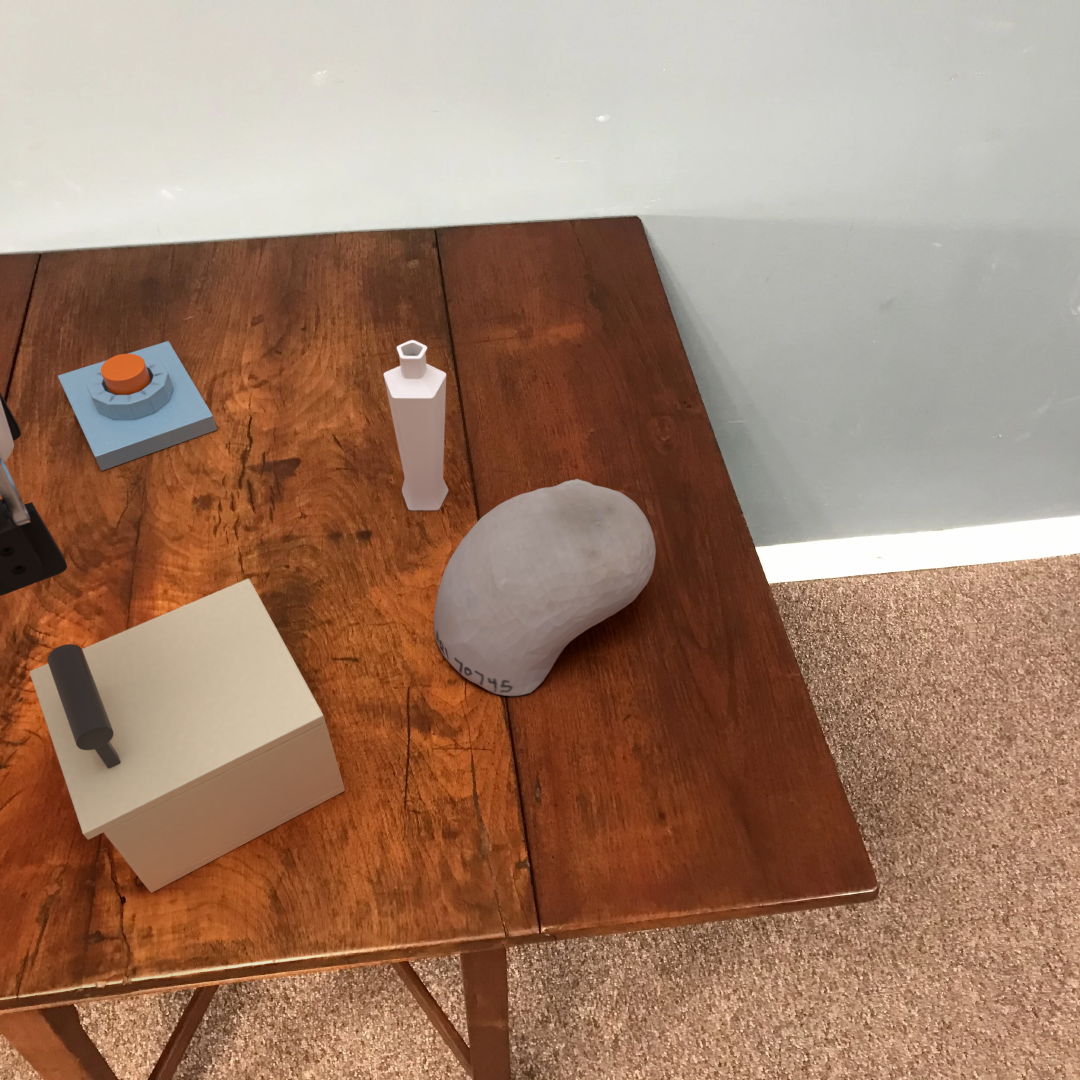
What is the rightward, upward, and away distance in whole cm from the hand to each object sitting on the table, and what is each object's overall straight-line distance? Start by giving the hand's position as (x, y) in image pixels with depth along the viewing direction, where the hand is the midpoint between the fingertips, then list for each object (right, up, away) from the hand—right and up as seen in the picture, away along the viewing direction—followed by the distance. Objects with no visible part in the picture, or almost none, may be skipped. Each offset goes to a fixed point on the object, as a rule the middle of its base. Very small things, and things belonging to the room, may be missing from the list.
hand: (8, 508), depth 44 cm
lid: (+4, -11, +11) cm, 16 cm away
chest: (+4, -16, +17) cm, 24 cm away
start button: (-11, +12, +37) cm, 41 cm away
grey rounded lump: (+25, -7, +27) cm, 37 cm away
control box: (-11, +10, +39) cm, 42 cm away
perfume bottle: (+15, +2, +34) cm, 37 cm away
